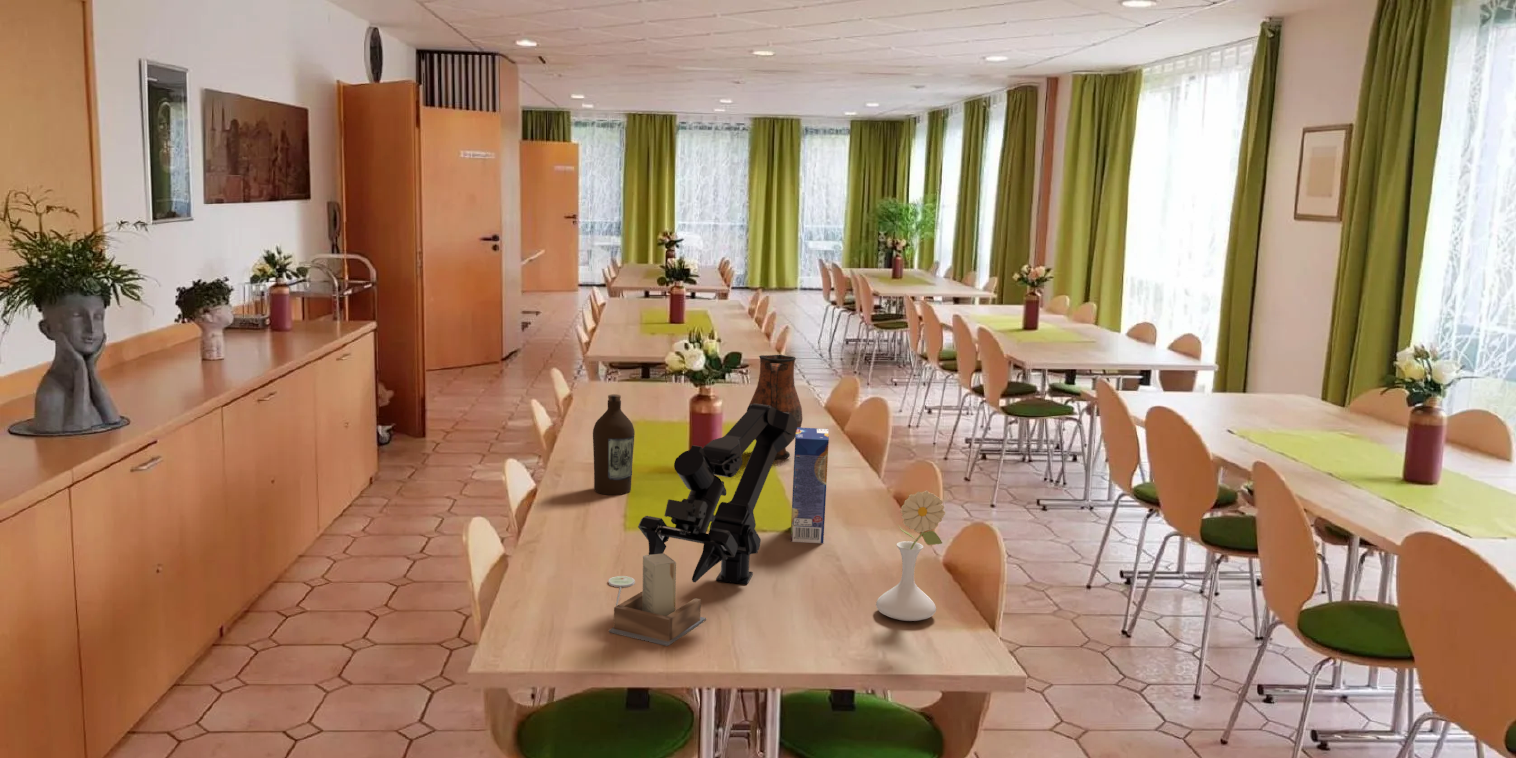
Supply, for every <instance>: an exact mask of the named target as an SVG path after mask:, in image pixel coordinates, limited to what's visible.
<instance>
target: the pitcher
mask: <svg viewBox="0 0 1516 758" xmlns="http://www.w3.org/2000/svg"><path fill="white" fill-rule="evenodd" d="M758 357H759V359H760V361H759V375H758V376H759V377H758V381H757V382H758V383H757V386H756V387H755V390H754V393H753V396H752V398H751V400H750V402H749V404H748V406H749V405H750V404H754V403H755V404H763V405H770V406H771V407H774V408H775V409H776V410H779V411H782V412H787V413H792V414H793V417H794V418H795V419H796V420H797V427H800V428H802V427H801V426H802V423H803V408H802V405H801V402H800V399H799V395H798V392H797V389H796V386H795V375H794V374H795V373H794V372H795V364H796V363H795V361H796V359H797V358H796V356H792V355H791V356H790V355H783V354H772V355H771V354H769V355H768V354H767V355H764V354H763V355H762V354H761V355H759V356H758ZM795 435H796V433H795V434H794V435H793V437H792V439H791V441H790V443H789V445H790V444H791V443H792V442H793V441H795ZM754 441H756V438H755V440H754ZM787 447H788V446H786V447H785V448H783V449H782V450H781V451H779V452H778V453H777V454H776V456H775V459H774V461H775V460H777V461H778V460H785V459H787V458H789V457H790V452H789V451H787V449H786V448H787Z"/></svg>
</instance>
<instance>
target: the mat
mask: <svg viewBox="0 0 1516 758" xmlns="http://www.w3.org/2000/svg"><path fill="white" fill-rule="evenodd" d="M704 620H705V621H706V620H707V617H704V616H700V621H698V622H697V623H695V624H694V625H692V626H691V627H689V628H688V629H686V630H685V631H683V632H682V633H681V634H679V635H678V636H676V637H675V638H673V639H672V640H670V641H669V642H668V641H663V640H659V639H655V638H651V637H646V636H642V635H638V634H634V633H630V632H625V631H621V630H617V629H614V626H613V627H612V628H610V629H608V633H610V634H615V635H618V636H619V635H620V636H625V637H628V638H632V639H636V638H637V640H640V639H641V641H644V640H645V642H648V641H649V642H650V643H653V644H657V645H661V646H666V647H669V646H670V645H671V644H673V643H674V642H676V641H677V640H679V639H680V638H682V637H683V636H685V635H686V634H688V633H689V632H691V631H692V630H694V629H695V628H697V627H698V626H699V624H700V625H701V624H703V623H704V622H705V621H704ZM703 621H704V622H703ZM690 630H691V631H690ZM687 632H688V633H687Z"/></svg>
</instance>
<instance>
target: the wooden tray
mask: <svg viewBox="0 0 1516 758" xmlns="http://www.w3.org/2000/svg"><path fill="white" fill-rule="evenodd" d="M642 596H643V590H642V591H640V592H639V593H637V594H635V595H633V596H632V597H630V598H628V599H627V600H626V599H625V600H624V601H622V602H621V603H618V604H617V606H616V605H615V606H614V607H613V627H614V629H617V630H621V631H625V632H630V633H634V634H638V635H642V636H646V637H651V638H655V639H659V640H663V641H668V642H669V641H670V640H672V639H673V638H675V637H676V636H678V635H679V634H681V633H682V632H683V631H685V630H686V629H688V628H689V627H691V626H692V625H694V624H695V623H697V622H698V621H700V617H701V611H702V610H701V609H702V605H701V604H702V599H701V598H696V597H695V598H692V600H690V601H688V602H686V603H685V604H683V605H682V606H680V607H679V608H677V609H675V611H674V612H672V613H671V614H669V615H668V616H663V615H659V614H654V613H650V612H645V611H642Z"/></svg>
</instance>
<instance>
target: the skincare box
mask: <svg viewBox="0 0 1516 758" xmlns="http://www.w3.org/2000/svg"><path fill="white" fill-rule="evenodd" d="M676 580H677V562H676V561H675V560H674V559H673V558H672V557H670V556H669V555H667V554H665V553H664V552H663V554H653V555H649V554H646V555H645V554H644V555H642V591H643V596H642V611H645V612H650V613H654V614H659V615H663V616H668V615H669V614H671V613H672V612H674V611H676V596H677V595H676V591H677V588H676V587H677V586H676V585H677V584H676V582H677V581H676Z"/></svg>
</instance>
